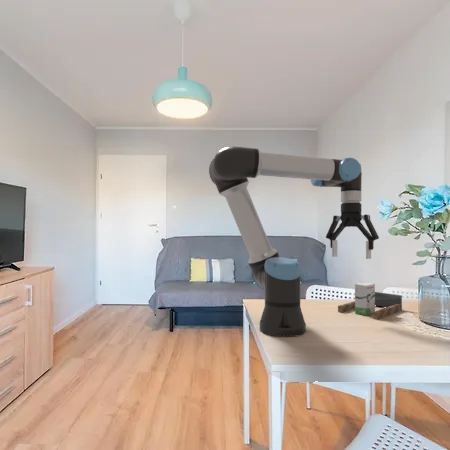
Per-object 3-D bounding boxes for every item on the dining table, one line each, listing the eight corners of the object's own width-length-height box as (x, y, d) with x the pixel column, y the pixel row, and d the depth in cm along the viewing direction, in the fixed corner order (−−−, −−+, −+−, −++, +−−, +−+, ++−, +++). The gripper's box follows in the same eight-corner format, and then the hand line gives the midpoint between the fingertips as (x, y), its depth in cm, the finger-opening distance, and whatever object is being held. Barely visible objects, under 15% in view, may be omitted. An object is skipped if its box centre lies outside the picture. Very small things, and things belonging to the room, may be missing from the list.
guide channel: (377, 319, 125) (376, 303, 125) (338, 311, 137) (337, 297, 137) (401, 309, 141) (401, 295, 141) (365, 303, 153) (364, 290, 153)
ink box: (366, 315, 131) (366, 285, 131) (354, 313, 134) (354, 283, 135) (375, 312, 137) (375, 282, 137) (363, 310, 140) (363, 281, 141)
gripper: (388, 201, 124) (388, 259, 124) (326, 205, 142) (326, 255, 142) (379, 199, 119) (379, 260, 118) (317, 203, 137) (317, 256, 137)
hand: (351, 257), depth 130 cm, fingers open, 13 cm apart
